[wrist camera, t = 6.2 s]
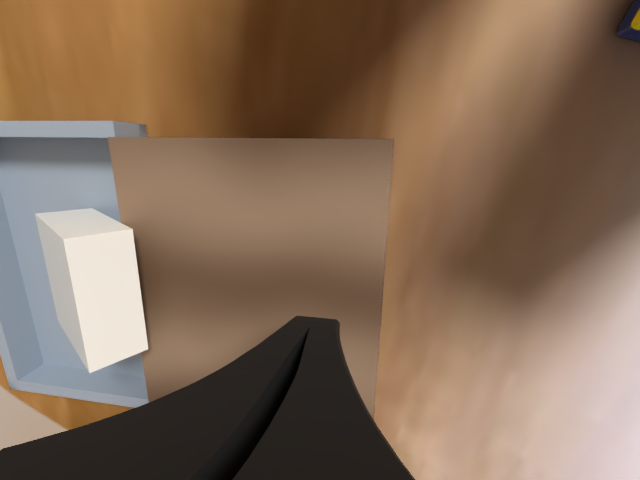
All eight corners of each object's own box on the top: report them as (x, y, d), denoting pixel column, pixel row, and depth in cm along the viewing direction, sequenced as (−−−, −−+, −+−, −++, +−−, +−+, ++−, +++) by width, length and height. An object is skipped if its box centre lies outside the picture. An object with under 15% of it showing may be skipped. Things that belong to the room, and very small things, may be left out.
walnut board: (372, 401, 15) (371, 446, 13) (181, 376, 17) (150, 412, 15) (390, 141, 12) (394, 139, 10) (153, 139, 14) (107, 137, 11)
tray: (177, 385, 17) (156, 410, 15) (44, 366, 18) (10, 388, 17) (145, 124, 14) (112, 120, 12) (-17, 124, 15) (-68, 121, 13)
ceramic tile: (148, 349, 13) (89, 373, 11) (108, 306, 16) (58, 321, 15) (132, 228, 11) (63, 239, 10) (91, 208, 15) (34, 213, 13)
